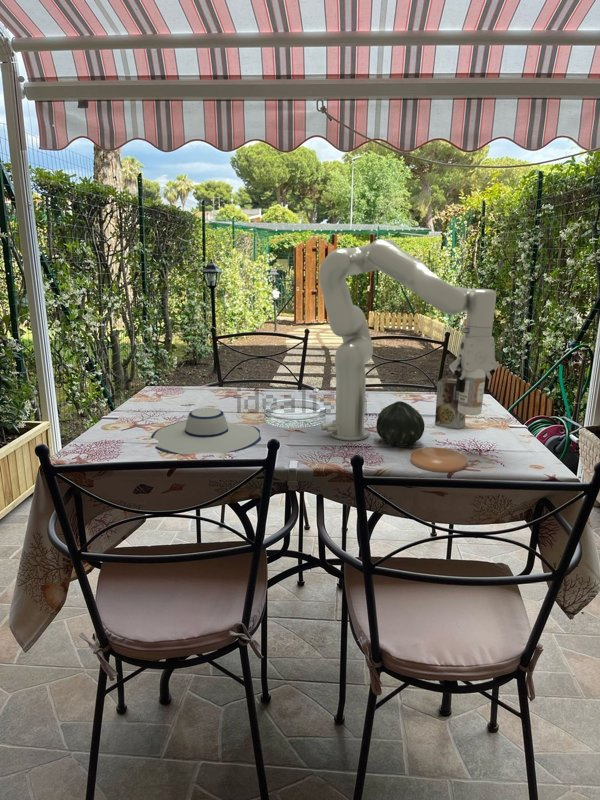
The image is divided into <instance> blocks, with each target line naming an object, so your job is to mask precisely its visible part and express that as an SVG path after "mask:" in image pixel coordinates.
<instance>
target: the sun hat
mask: <svg viewBox="0 0 600 800" xmlns="http://www.w3.org/2000/svg"><path fill="white" fill-rule="evenodd" d="M150 438H151V439H153V440H156V441H158V443H157V444H156V445H155V447H154V449H156V450H158V451H160V452H161V451H162V452H163V453H164V452H165V453H167V454H170V455H187V454H189V455H190V454H209V453H210V454H223V453H224V454H227V453H234V452H239V451H243V450H246V449H249V448H251V447H253V446H255V445H256V444H258V443H259V442H260V441H261V440H262V437H261V430H260V429H259V428H258V427H256V426H253V425H243V424H235V423H231V422H228V421H227V418H226V416H225V413H224V411H222V410H221V409H218V408H212V407H202V408H196V409H193V410H191V411H190V412H189V413H188V415H187V419H185V420H180V421H177V422H174V423H171V424H169V425H166V426H163V427H160V428H158V429H157V430H155V431H154V432H152V434H151V436H150Z"/></svg>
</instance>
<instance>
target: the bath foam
mask: <svg viewBox="0 0 600 800" xmlns="http://www.w3.org/2000/svg"><path fill="white" fill-rule="evenodd" d="M485 378H486V372H485V371H483V370H482V369H478V370H476V371H473V372H467V373H466V375H465V377H464V380H465V387H464V392H463V393H461V392H459V400H458V412H459V413H462V414H465V416H478V415H480V414H482V409H483V403H484V402H483V401H484V400H483V399H484V393H485V392H484V386H485Z"/></svg>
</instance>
